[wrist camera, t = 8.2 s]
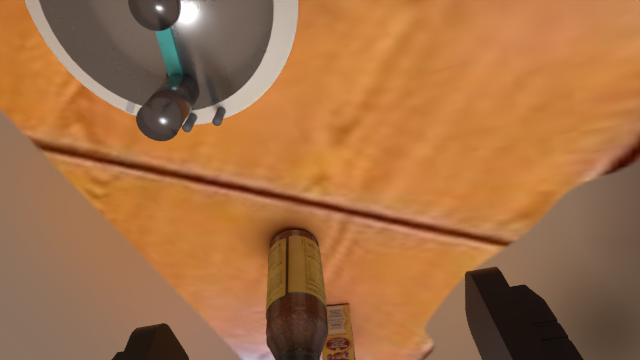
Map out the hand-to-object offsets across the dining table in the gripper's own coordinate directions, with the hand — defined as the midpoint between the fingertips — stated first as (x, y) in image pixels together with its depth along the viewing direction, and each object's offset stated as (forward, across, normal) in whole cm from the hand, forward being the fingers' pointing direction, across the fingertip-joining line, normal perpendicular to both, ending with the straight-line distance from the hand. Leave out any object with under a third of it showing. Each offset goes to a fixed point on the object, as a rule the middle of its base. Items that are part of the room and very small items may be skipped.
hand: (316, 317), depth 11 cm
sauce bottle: (+30, +6, +23) cm, 39 cm away
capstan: (+28, +11, -6) cm, 31 cm away
